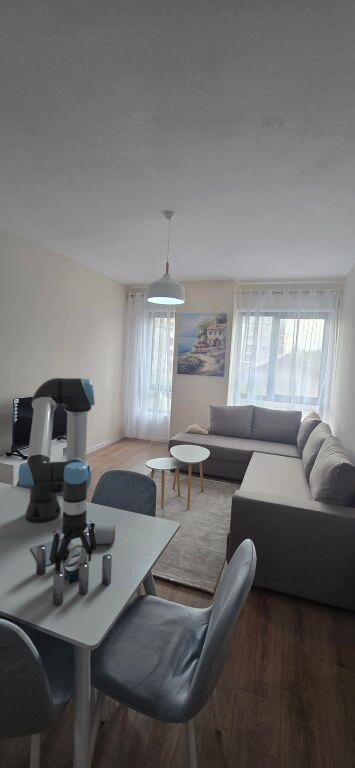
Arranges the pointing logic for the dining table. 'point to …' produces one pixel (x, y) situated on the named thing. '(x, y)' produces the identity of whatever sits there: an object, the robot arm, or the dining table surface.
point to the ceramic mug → (104, 533)
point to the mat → (48, 551)
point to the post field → (83, 573)
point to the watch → (72, 570)
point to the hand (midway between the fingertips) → (73, 575)
